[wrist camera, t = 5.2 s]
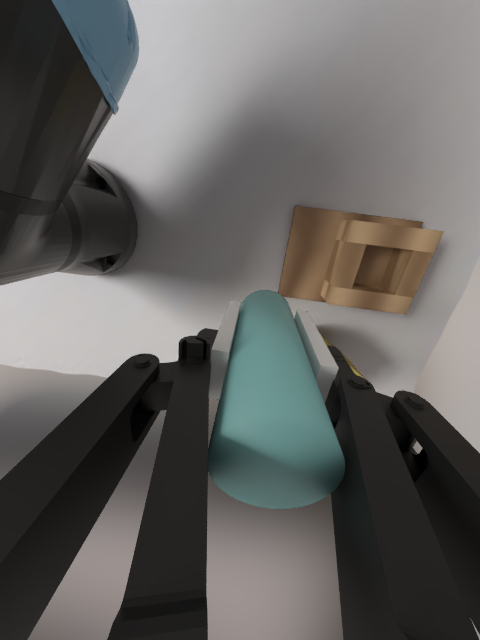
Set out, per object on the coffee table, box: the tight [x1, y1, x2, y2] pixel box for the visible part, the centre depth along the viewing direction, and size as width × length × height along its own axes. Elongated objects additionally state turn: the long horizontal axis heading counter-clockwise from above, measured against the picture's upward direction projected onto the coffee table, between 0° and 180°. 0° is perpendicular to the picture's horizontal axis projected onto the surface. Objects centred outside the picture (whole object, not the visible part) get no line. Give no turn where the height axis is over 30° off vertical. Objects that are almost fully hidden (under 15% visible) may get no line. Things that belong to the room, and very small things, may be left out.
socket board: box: [278, 206, 443, 314], centre depth 29 cm, size 16×12×5 cm
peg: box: [208, 290, 345, 509], centre depth 12 cm, size 4×4×12 cm
